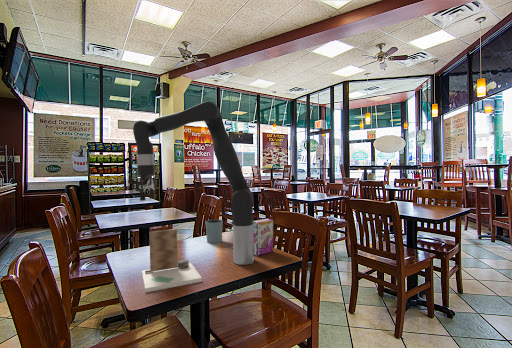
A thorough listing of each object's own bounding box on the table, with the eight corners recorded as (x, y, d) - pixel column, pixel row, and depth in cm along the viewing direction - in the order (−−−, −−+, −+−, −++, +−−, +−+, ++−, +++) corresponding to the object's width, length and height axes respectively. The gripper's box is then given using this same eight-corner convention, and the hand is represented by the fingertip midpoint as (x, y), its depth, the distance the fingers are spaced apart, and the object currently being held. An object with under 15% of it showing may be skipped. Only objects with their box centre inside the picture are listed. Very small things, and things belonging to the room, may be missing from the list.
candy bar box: (257, 256, 135) (257, 222, 135) (250, 254, 139) (250, 221, 138) (274, 251, 143) (273, 219, 142) (267, 249, 146) (266, 218, 146)
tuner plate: (190, 266, 124) (190, 262, 124) (201, 281, 107) (201, 277, 107) (141, 274, 115) (141, 270, 115) (145, 292, 98) (145, 288, 98)
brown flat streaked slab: (187, 263, 121) (186, 226, 121) (189, 267, 117) (188, 228, 117) (144, 270, 114) (143, 231, 113) (145, 274, 110) (144, 233, 109)
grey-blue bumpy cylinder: (209, 244, 156) (208, 223, 156) (203, 240, 165) (202, 220, 165) (225, 242, 161) (225, 221, 161) (219, 238, 170) (219, 218, 169)
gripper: (146, 163, 123) (147, 200, 123) (160, 164, 137) (162, 197, 137) (129, 164, 124) (131, 201, 124) (145, 165, 138) (147, 198, 138)
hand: (147, 199), depth 130 cm, fingers open, 8 cm apart
